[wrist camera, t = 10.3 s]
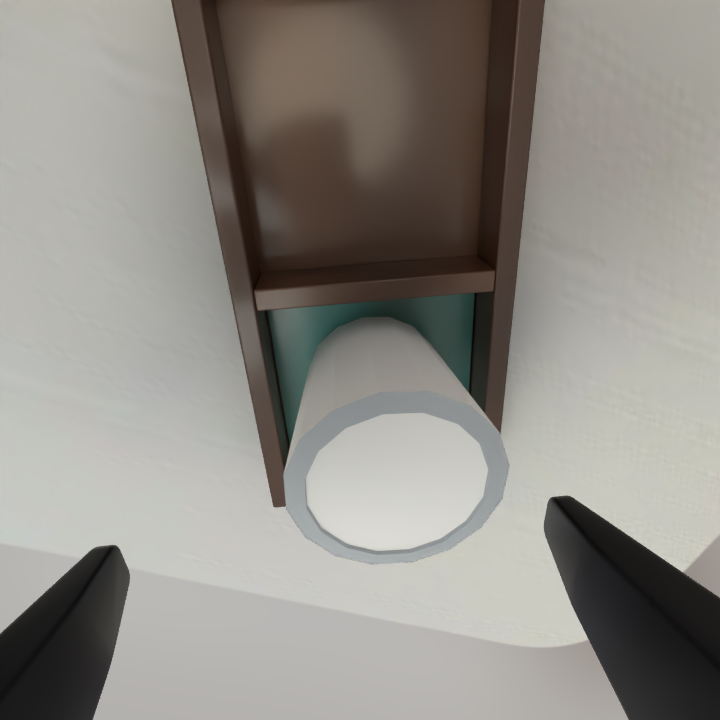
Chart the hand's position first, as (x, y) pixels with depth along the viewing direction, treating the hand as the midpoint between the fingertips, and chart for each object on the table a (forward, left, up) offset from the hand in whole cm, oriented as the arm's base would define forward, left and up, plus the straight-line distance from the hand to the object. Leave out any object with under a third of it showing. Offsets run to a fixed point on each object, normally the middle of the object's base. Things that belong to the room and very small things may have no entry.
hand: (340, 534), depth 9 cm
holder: (+2, +2, -11) cm, 12 cm away
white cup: (+2, -2, -11) cm, 11 cm away
